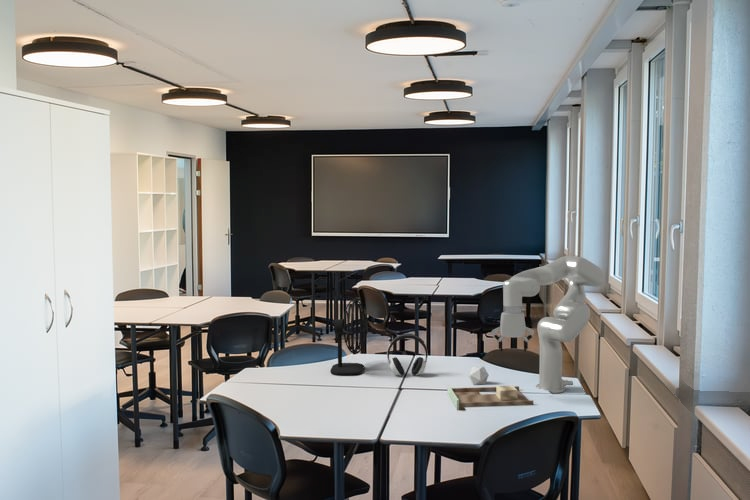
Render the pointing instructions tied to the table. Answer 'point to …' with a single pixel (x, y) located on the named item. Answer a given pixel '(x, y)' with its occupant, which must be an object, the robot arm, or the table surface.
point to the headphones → (419, 362)
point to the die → (478, 375)
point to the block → (506, 392)
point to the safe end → (453, 397)
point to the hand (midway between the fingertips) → (513, 350)
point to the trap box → (486, 398)
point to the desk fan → (340, 329)
